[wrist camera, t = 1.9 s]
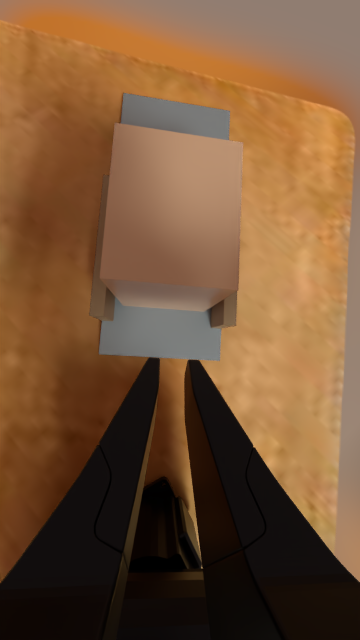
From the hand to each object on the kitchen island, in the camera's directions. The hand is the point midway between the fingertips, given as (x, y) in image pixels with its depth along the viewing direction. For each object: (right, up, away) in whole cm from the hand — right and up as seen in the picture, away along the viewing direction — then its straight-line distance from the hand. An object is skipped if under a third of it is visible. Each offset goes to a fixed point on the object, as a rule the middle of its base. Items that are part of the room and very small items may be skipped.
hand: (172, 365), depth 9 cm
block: (-1, +7, +13) cm, 15 cm away
